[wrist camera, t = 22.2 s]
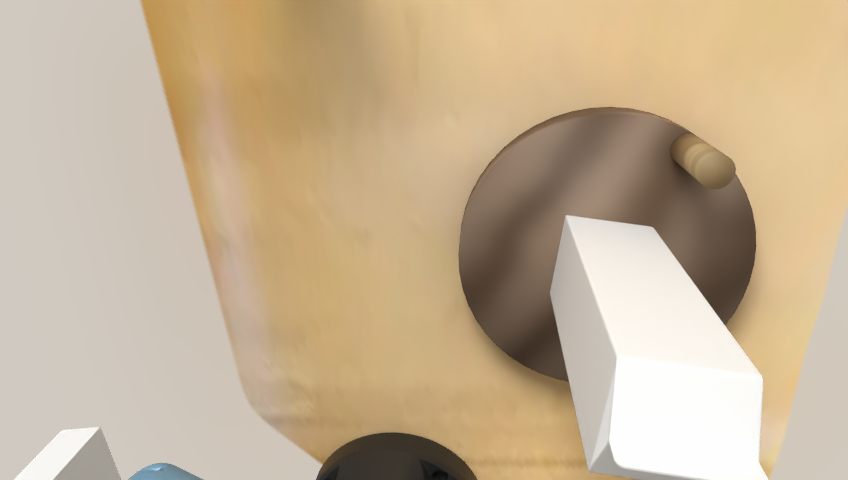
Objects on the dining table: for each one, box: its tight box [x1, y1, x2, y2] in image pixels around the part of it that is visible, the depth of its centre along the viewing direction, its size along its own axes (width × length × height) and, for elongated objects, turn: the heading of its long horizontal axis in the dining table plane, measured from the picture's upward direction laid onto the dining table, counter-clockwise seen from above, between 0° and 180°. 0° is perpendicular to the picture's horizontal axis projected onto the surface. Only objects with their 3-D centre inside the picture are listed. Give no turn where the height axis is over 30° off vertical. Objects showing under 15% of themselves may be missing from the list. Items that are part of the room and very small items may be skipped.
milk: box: [550, 215, 768, 480], centre depth 35 cm, size 6×6×22 cm
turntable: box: [459, 107, 756, 381], centre depth 44 cm, size 20×20×9 cm
